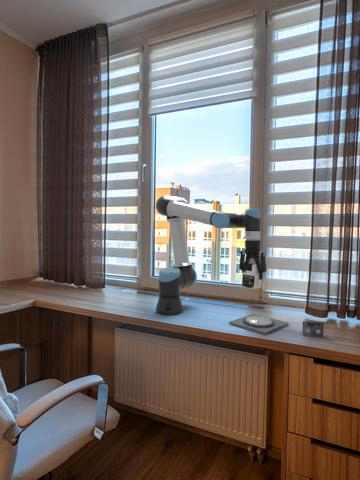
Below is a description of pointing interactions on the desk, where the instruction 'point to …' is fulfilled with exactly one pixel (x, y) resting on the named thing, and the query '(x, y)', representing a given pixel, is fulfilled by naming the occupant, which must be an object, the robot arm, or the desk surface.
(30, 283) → the desk surface
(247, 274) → the medicine bottle
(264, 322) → the plate
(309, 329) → the mini dv tape
